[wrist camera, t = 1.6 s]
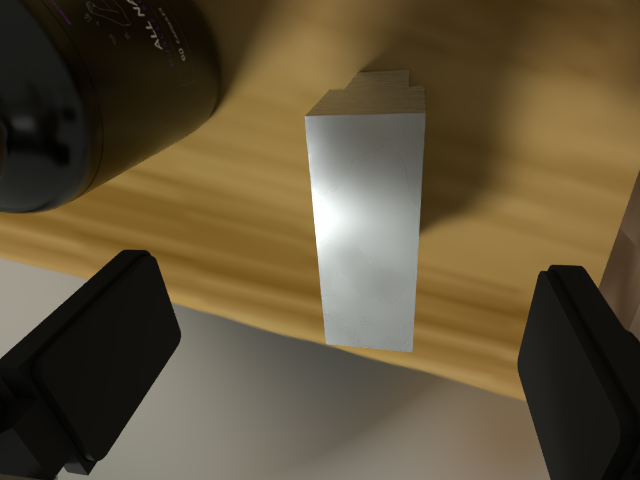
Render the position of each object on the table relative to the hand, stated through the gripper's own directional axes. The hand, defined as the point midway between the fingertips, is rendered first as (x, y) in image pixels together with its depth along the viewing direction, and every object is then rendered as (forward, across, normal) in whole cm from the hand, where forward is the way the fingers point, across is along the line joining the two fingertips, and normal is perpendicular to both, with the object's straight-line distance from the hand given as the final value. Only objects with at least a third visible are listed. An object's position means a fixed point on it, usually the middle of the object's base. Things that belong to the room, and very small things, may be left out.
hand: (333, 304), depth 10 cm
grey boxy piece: (+10, -1, 0) cm, 10 cm away
